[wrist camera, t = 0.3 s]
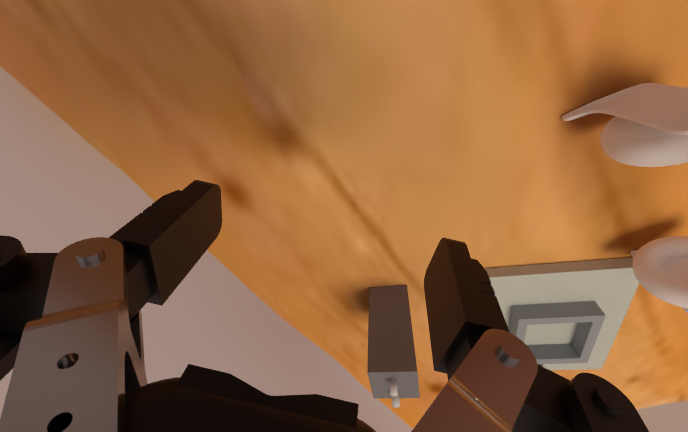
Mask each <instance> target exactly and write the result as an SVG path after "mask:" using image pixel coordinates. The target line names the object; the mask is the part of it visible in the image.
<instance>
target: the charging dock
mask: <svg viewBox="0 0 688 432" xmlns="http://www.w3.org/2000/svg"><path fill="white" fill-rule="evenodd" d="M632 265H633V257H630V258H617V259H603V260H590V261H576V262H563V263H549V264H536V265H523V266H509V267H496V268H484V269H485V270H486V271H487V273H488V276H489V279H490V281H491V286H492V287H493V289H494V292H495V296H496V297H497V300H498V303H499V305H500V308H501V311H502V313H503V316H504V319H505V321H506V324H507V326H508V329H509V332H510V333H511V334H513V335H515V336H516V337H518V338H519V339H520V340H522V341H523V342H524V343H525V344H526V345H527V346H528V347H529V348H530V350H531V351H532V353H533V354H534V356H535V358H536V361H537V364H539V365H540V366H542V367H544V368H546V369H548V370H575V369H602V367H603V365H604V362H605V360H606V358H607V356H608V353H609V351H610V349H611V346H612V344H613V342H614V340H615V337H616V335H617V333H618V330H619V328H620V326H621V324H622V321H623V319H624V317H625V314H626V312H627V310H628V308H629V305H630V303H631V301H632V298H633V296H634V294H635V292H636V289H637V287H638V285H639V282H638V280H637V278H636V277H635V274H634V272H633V266H632Z"/></svg>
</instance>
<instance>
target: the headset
mask: <svg viewBox="0 0 688 432" xmlns="http://www.w3.org/2000/svg"><path fill="white" fill-rule="evenodd" d="M592 113H604V114H609V115H613V116H615V117H613V118H612V119H611V120H610V121H609V122H608V123H607V124H606V125H605V127H604V128H603V130H602V132H601V135H600V144H601V147H602V149H603V151H604V152H605V153H606V154H607V155H608V156H609V157H610V158H612V159H613V160H615V161H618V162H620V163H623V164H627V165H632V166H640V167H661V166H671V165H678V164H683V163H688V88H685V87H678V86H671V85H665V84H657V83H642V84H638V85H635V86H632V87H629V88H626V89H623V90H621V91H618V92H616V93H613V94H610V95H608V96H605V97H603V98H600V99H598V100H595V101H593V102H591V103H588V104H586V105H584V106H582V107H580V108H577V109H575V110H573V111H571V112H569V113H567V114H565V115H563V116H562V120H564V121H570V120H573V119H576V118H579V117H582V116H585V115H588V114H592ZM630 254H631V256H632V257H633V265H632V266H633V272H634V274H635V277H636V278H637V280H638V282H639V283H640V284H641V285H642V286H643V287H644V288H645V289H646V290H647V291H648V292H650V293H651V294H652V295H654V296H655V297H657V298H659V299H661V300H663V301H665V302H667V303H670V304H673V305H676V306H679V307H682V308H683V309H684V310H685V311H686V312H687V313H688V237H686V236H670V237H663V238H659V239H655V240H652V241H650V242H648V243H646V244H645V245H643V246H642V247H641V248H640V249H639V250H634V251H630Z"/></svg>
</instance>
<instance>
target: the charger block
mask: <svg viewBox="0 0 688 432" xmlns="http://www.w3.org/2000/svg"><path fill="white" fill-rule="evenodd" d="M368 376H369V380H370V384H371V389H372V393H373V397H374V398H392V406H393V407H394V408H399V407H400V400H399V398H420V395H419V385H418V375H417V366H416V358H415V349H414V341H413V333H412V324H411V316H410V308H409V299H408V291H407V285H397V286H382V287H369V327H368Z"/></svg>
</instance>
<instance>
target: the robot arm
mask: <svg viewBox="0 0 688 432" xmlns="http://www.w3.org/2000/svg"><path fill="white" fill-rule="evenodd" d="M221 225H222V209H221V190H220V187H219V185H216V184H212V183H208V182H203V181H199V180H195V181H193V182H192V183H191V184H190V185H188V186H187V187H186V188H185V189H184V190H182V191H180V190H177V191H174V192H172V193H169V194H167V195H164V196H162V197H161V198H160V199H158V200H157V201H156V202H154V203H153V204H152V206H149V207H148V208H147V209H145V210H144V211H143V213H140V214H139V215H138V216H136V217H135V218H134V219H132V220H131V221H130V222H129V223H127V224H126V225H125V226H123V227H122V228H121V229H119V230H118V231H117V232H116V233H114V234H113V235H112V236H110V237H109V238H104V237H103V238H102V237H100V238H90V239H85V240H81V241H78V242H75V243H73V244H71V245H69V246H67V247H66V248H64V249H63V250H61V251H60V252H59V253H26V252H25V250H24V248H23V246H22V244H21V242H20V241H19V240H18V239H16V238H14V237H10V236H0V380H1V379H2V378H3V377H4V376H5V375H6V374H7V373H9V372H10V371H11V369H13V372H12V376H11V380H10V384H9V388H8V392H7V395H6V399H5V403H4V407H3V411H2V415H1V418H0V432H376V431H375V430H374V429H373V428H371V427H370V426H369V425H367V424H366V423H364V422H363V421H361V420H359V419H358V418H357V414H358V404H356V403H351V402H347V401H343V400H339V399H334V398H330V397H326V396H321V395H317V394H311V395H287V396H270V395H267V394H265V393H263V392H261V391H259V390H258V389H256V388H254V387H252V386H251V385H249V384H247V383H245V382H244V381H242V380H240V379H238V378H237V377H235V376H233V375H231V374H228V373H224V372H220V371H216V370H211V369H207V368H203V367H199V366H194V365H190V364H188V366H187V368H186V370H185V371H184V373H183V374H182V376H181V377H180V378H171V379H165V380H161V381H157V382H153V383H150V384H147V379H146V373H145V365H144V348H143V330H142V315H141V311H140V310H141V308H142V307H143V306H144V305H145V304H146V303H147V302H150V303H154V304H158V305H163V304H164V302H165V301H166V300H167V299H168V297H169V296H170V295H171V294H172V292H173V291H174V290H175V289H176V287H177V286H178V285H179V284H180V282H181V281H182V280H183V279H184V277H185V276H186V275H187V274H188V273H189V271H190V270H191V269H192V268H193V266H194V265H195V264H196V262H197V261H198V260H199V259H200V257H201V256H202V255H203V254H204V253H205V251H206V250H207V249H208V248H209V246H210V245H211V244H212V243H213V241H214V240H215V239H216V238H217V236H218V234H219V232H220V229H221ZM424 290H425V298H426V307H427V315H428V323H429V332H430V340H431V348H432V356H433V365H434V371H438V372H442V373H447V375H448V382H447V384H446V385H445V386H444V388H443V389H442V391H441V392H440V393H439V395H438V396H437V397H436V399H435V400H434V402H433V403H432V404H431V406H430V407H429V408H428V410H427V411H426V412H425V414H424V415H423V417H422V418H421V419H420V421H419V422H418V423H417V425H416V426H415V428H414V429H413V430H412V432H649V431H648V429H647V427H646V426H645V424H644V422H643V420H642V419H641V417H640V415H639V414H638V412H637V410H636V409H635V407H634V405H633V404H632V403H631V402H630V400H629V399H628V398H627V397H626V396H625V395H624V394H623V393H622V392H621V391H620V390H619V389H618V388H616V387H615V386H614V385H612V384H611V383H610V382H608V381H606V380H605V379H603V378H601V377H599V376H597V375H594V374H590V373H580V374H578V375H576V376H575V377H574V378H573V379H572V380H571V381H570V380H568V379H566V378H564V377H562V376H560V375H558V374H556V373H554V372H552V371H550V370H548V369H546V368H544V367H542V366H540V365H539V364H537V361H536V358H535V356H534V354H533V353H532V351H531V350H530V348H529V347H528V346H527V345H526V344H525V343H524V342H523V341H522V340H520V339H519V338H518V337H516V336H515V335H513V334H511V333H510V332H509V329H508V326H507V324H506V321H505V319H504V316H503V313H502V311H501V308H500V305H499V303H498V300H497V297H496V296H495V292H494V289H493V287H492V286H491V281H490V279H489V276H488V273H487V271H486V270H485V269H484V268H483V266H482V265H481V264H480V263H479V262H478V260H475V259H471V257H470V254H469V251H468V248H467V245H466V243H464V242H460V241H456V240H452V239H447V238H442V239H441V240H440V242H439V244H438V246H437V248H436V250H435V253H434V255H433V257H432V259H431V261H430V264H429V266H428V268H427V270H426V274H425V278H424Z"/></svg>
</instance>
